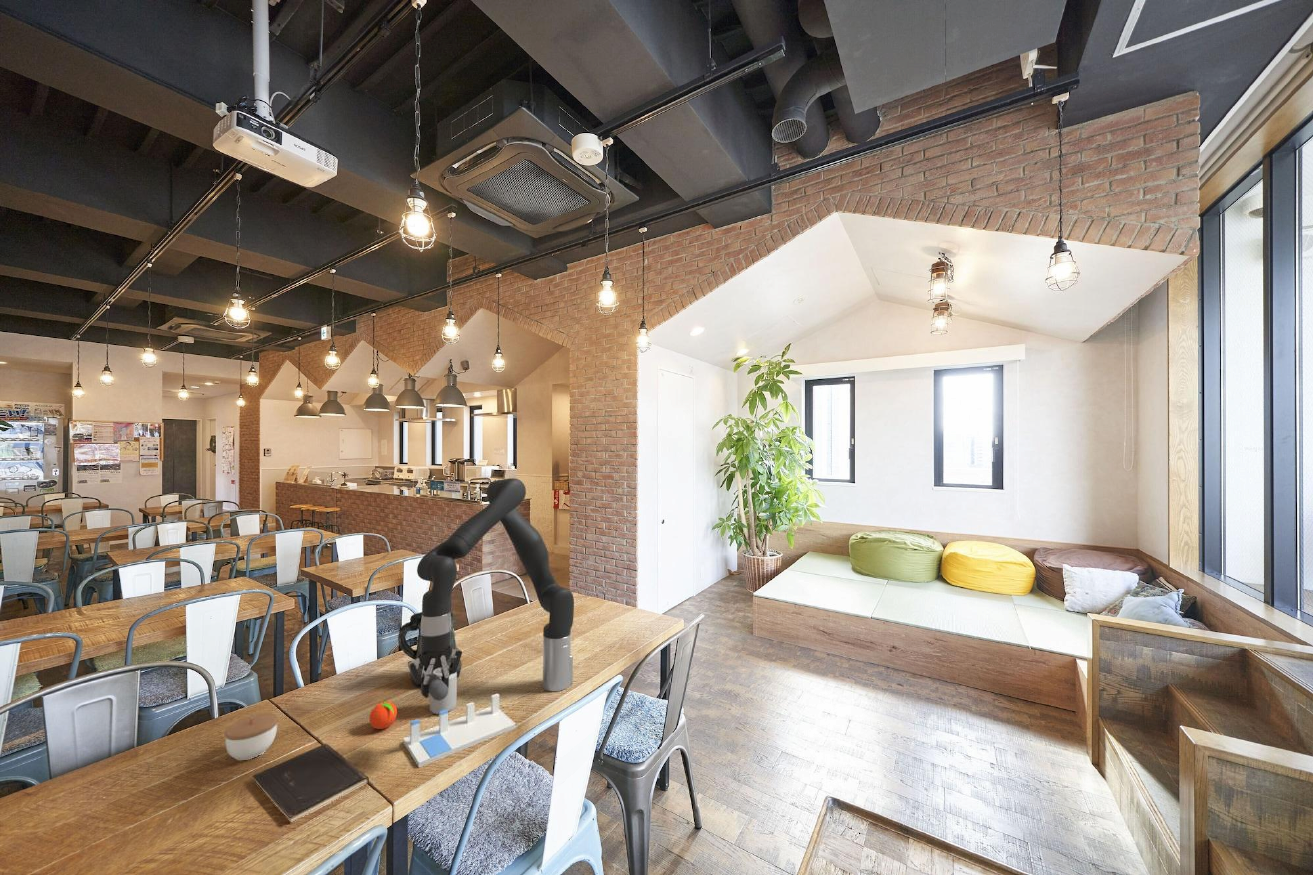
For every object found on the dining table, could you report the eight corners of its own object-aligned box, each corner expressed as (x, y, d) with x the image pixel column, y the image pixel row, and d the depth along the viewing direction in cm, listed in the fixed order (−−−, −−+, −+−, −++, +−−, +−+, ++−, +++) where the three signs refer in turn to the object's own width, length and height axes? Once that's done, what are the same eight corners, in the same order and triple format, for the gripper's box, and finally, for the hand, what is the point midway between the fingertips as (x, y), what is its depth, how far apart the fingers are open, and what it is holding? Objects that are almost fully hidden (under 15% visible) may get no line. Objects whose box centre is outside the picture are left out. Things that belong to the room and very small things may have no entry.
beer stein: (471, 674, 172) (472, 603, 173) (419, 697, 156) (421, 619, 156) (443, 663, 181) (444, 596, 182) (391, 684, 164) (393, 610, 165)
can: (446, 717, 144) (447, 676, 144) (424, 714, 146) (425, 674, 146) (461, 704, 151) (461, 665, 152) (440, 701, 153) (440, 663, 153)
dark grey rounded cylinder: (420, 688, 133) (420, 673, 133) (435, 683, 135) (435, 669, 136) (434, 705, 124) (434, 689, 124) (450, 699, 127) (450, 684, 127)
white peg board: (495, 708, 149) (495, 686, 149) (515, 727, 138) (515, 704, 139) (403, 742, 131) (403, 717, 132) (418, 767, 121) (419, 740, 121)
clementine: (404, 724, 140) (405, 700, 140) (382, 737, 134) (382, 711, 134) (386, 718, 143) (386, 694, 144) (363, 730, 137) (364, 705, 137)
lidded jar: (287, 746, 130) (287, 711, 130) (241, 771, 120) (242, 732, 120) (260, 738, 133) (261, 704, 134) (214, 761, 123) (215, 724, 123)
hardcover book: (289, 828, 102) (289, 816, 102) (252, 784, 115) (252, 775, 116) (369, 785, 115) (369, 775, 116) (327, 750, 129) (328, 742, 129)
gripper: (457, 620, 138) (456, 680, 137) (403, 632, 128) (402, 697, 128) (467, 627, 132) (466, 690, 132) (411, 640, 123) (410, 708, 122)
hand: (434, 693), depth 130 cm, fingers closed on dark grey rounded cylinder, 4 cm apart
